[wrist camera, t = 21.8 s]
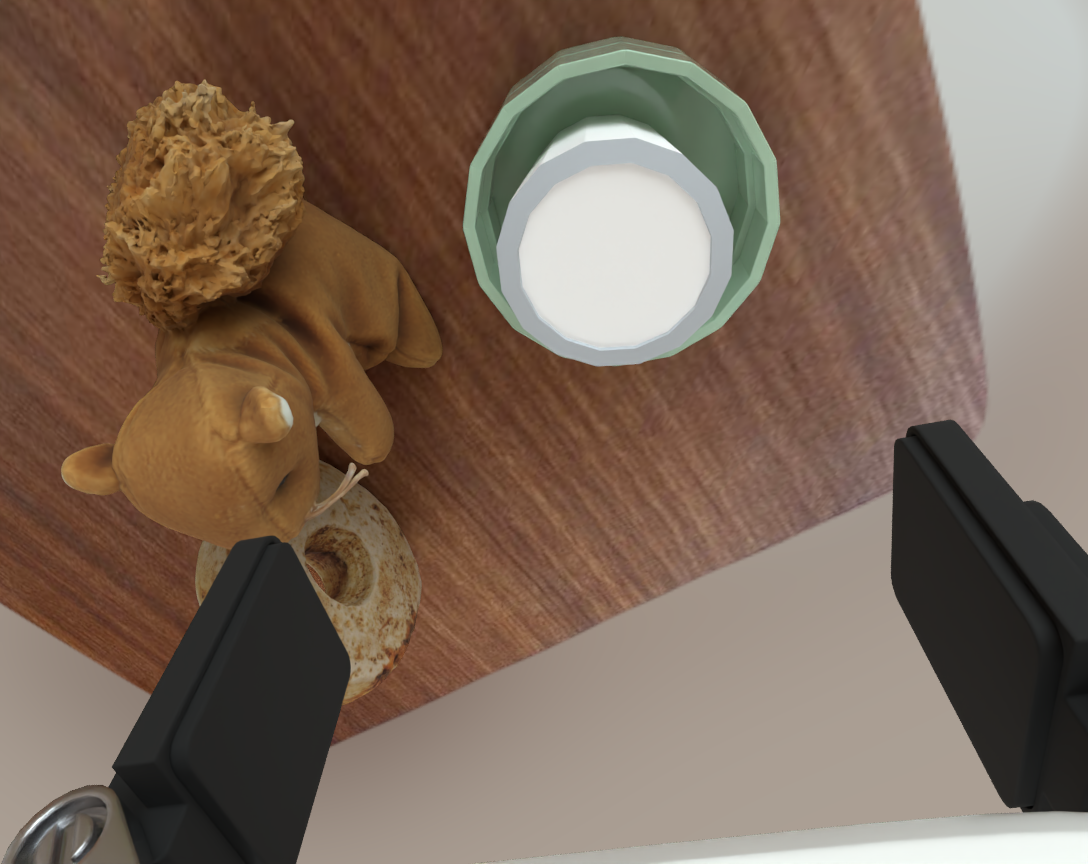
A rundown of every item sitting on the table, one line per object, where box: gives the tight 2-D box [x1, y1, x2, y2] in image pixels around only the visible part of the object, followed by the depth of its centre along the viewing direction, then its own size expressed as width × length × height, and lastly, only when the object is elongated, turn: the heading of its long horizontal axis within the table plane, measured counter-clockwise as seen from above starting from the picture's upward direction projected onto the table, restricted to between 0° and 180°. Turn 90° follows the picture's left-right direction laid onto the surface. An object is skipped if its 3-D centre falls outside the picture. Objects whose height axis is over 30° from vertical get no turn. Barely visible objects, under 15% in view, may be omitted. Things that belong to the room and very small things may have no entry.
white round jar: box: [496, 114, 734, 366], centre depth 25 cm, size 7×7×7 cm
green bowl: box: [463, 36, 780, 366], centre depth 26 cm, size 10×10×4 cm
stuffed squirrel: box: [61, 79, 443, 549], centre depth 24 cm, size 10×14×13 cm
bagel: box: [195, 460, 421, 705], centre depth 32 cm, size 10×4×10 cm, turn 38°
